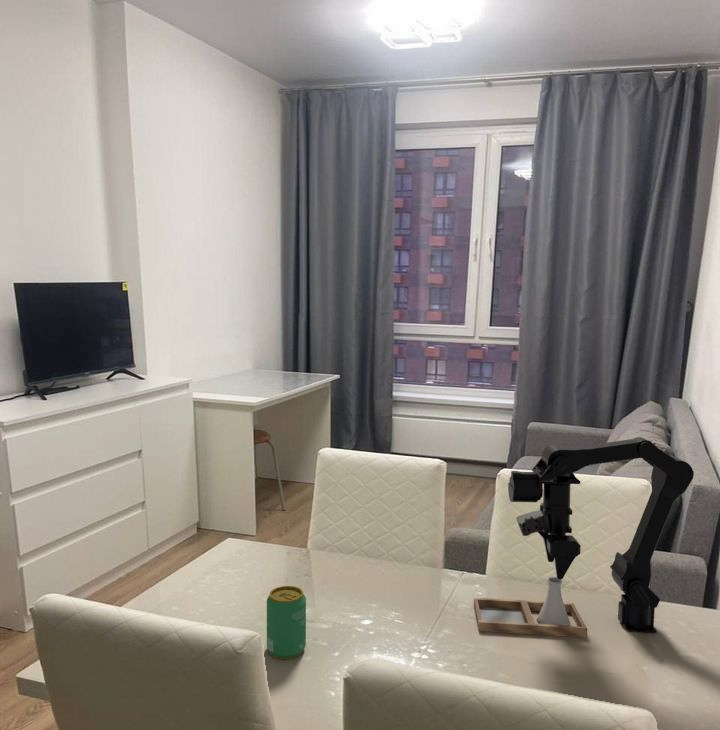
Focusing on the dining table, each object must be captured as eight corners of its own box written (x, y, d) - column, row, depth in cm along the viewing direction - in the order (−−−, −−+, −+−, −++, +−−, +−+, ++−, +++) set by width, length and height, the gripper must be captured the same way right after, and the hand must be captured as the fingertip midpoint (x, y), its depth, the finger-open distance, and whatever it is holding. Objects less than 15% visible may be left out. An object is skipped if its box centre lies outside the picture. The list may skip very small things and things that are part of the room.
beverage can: (282, 635, 128) (283, 581, 127) (313, 646, 124) (313, 590, 123) (258, 653, 121) (258, 596, 121) (290, 665, 117) (290, 606, 116)
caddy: (573, 611, 140) (573, 603, 140) (586, 637, 129) (587, 628, 129) (473, 605, 143) (473, 597, 143) (478, 630, 131) (478, 622, 131)
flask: (572, 632, 131) (574, 588, 130) (538, 628, 132) (539, 585, 132) (567, 616, 138) (569, 574, 137) (535, 613, 140) (536, 571, 139)
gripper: (513, 489, 143) (512, 552, 144) (527, 514, 125) (525, 587, 126) (560, 490, 142) (559, 554, 143) (582, 516, 124) (580, 589, 125)
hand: (555, 570), depth 134 cm, fingers open, 9 cm apart
